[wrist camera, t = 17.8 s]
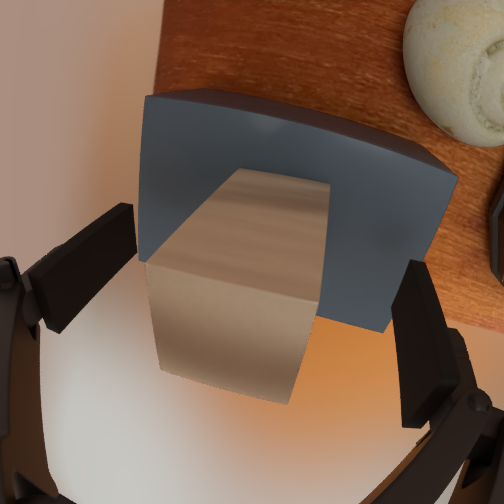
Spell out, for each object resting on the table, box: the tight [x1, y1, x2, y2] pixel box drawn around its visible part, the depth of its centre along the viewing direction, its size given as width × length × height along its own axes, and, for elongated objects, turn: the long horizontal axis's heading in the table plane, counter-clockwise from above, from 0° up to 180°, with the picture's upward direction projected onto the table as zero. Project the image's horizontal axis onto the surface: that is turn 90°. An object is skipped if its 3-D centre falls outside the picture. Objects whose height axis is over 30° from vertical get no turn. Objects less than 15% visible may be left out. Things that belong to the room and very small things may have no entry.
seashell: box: [403, 0, 504, 147], centre depth 15 cm, size 13×8×10 cm
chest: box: [154, 88, 452, 172], centre depth 22 cm, size 11×18×8 cm, turn 80°
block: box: [145, 168, 330, 405], centre depth 14 cm, size 5×5×10 cm
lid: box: [138, 95, 459, 333], centre depth 19 cm, size 12×18×1 cm, turn 80°
